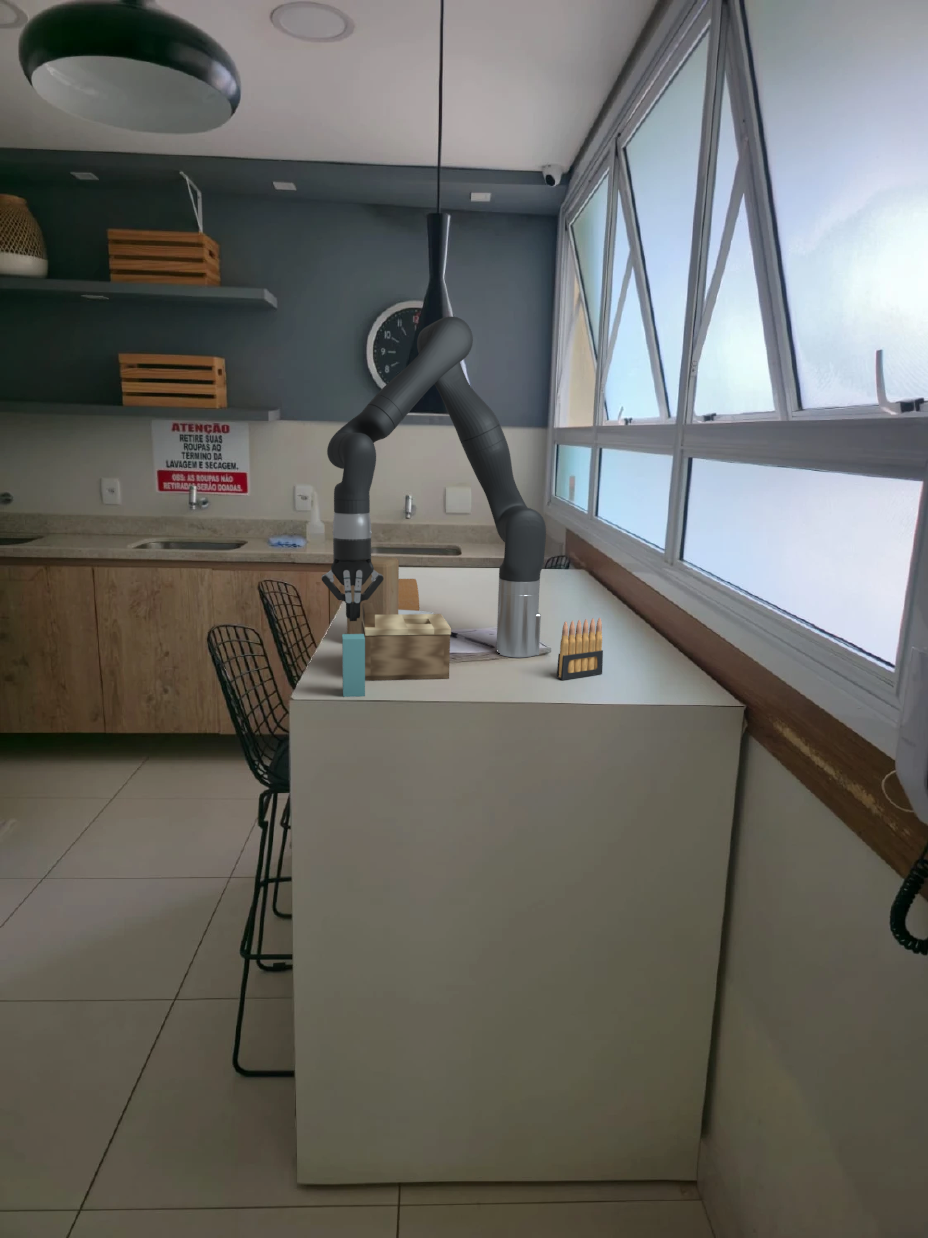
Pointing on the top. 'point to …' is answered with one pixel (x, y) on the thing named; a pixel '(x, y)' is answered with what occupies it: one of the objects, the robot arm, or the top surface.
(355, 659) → the teal block
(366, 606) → the lid
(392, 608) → the wooden block
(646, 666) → the top surface
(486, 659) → the top surface
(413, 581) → the arch
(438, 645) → the wooden box
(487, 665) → the top surface
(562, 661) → the ammunition clip
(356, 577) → the robot arm
